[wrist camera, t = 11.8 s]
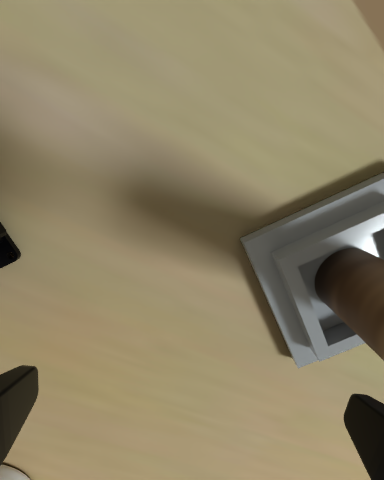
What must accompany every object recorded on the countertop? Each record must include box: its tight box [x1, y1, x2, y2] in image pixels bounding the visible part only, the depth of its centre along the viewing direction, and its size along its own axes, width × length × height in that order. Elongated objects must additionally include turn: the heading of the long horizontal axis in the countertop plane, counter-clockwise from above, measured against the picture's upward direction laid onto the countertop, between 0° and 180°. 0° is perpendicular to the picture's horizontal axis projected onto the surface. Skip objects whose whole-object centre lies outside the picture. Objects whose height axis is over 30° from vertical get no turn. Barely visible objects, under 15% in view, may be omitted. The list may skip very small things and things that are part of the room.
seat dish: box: [240, 172, 384, 368], centre depth 20 cm, size 12×12×3 cm
